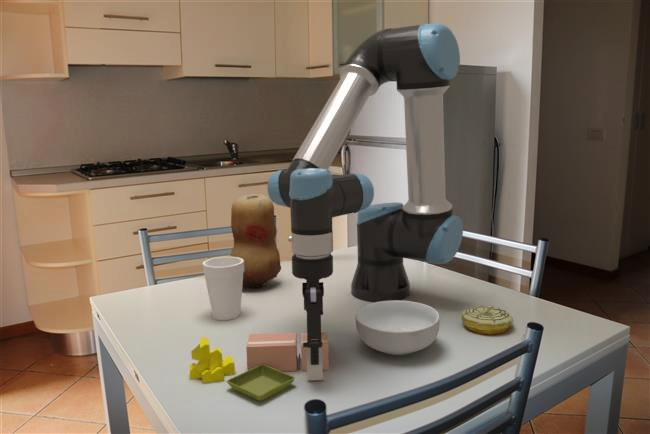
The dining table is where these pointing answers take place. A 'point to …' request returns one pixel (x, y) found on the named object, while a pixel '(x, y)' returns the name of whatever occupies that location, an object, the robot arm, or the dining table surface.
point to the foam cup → (224, 286)
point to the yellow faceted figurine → (210, 363)
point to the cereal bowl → (397, 326)
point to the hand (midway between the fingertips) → (314, 363)
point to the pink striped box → (273, 351)
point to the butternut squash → (255, 238)
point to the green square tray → (261, 382)
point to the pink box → (324, 351)
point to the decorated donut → (486, 320)
